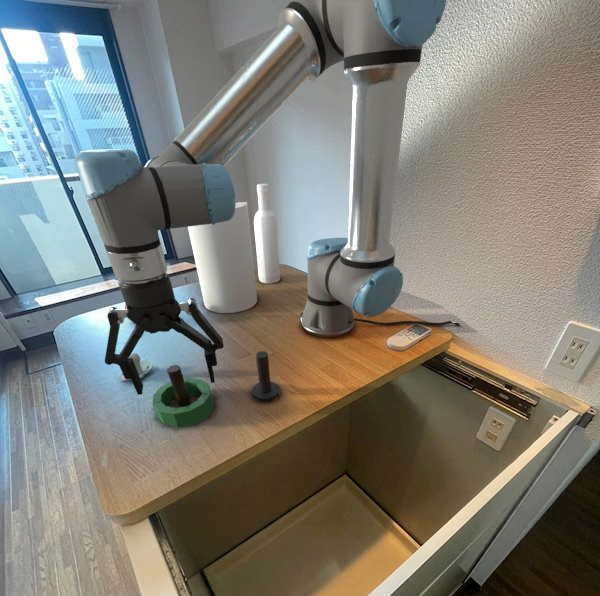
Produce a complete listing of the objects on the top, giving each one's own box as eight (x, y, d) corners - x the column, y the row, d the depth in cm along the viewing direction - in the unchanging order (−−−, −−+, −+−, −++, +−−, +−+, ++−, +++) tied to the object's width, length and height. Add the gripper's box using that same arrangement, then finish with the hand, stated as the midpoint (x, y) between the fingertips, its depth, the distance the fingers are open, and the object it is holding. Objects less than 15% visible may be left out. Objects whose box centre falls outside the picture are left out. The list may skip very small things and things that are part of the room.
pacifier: (116, 381, 76) (135, 387, 73) (104, 358, 72) (124, 364, 69) (140, 364, 81) (158, 369, 78) (130, 342, 77) (149, 347, 74)
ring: (211, 386, 73) (208, 373, 71) (215, 420, 65) (211, 406, 63) (159, 395, 71) (154, 382, 69) (156, 431, 63) (150, 418, 61)
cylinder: (262, 308, 103) (252, 207, 85) (206, 316, 99) (184, 212, 81) (252, 288, 116) (242, 196, 97) (202, 294, 112) (182, 200, 94)
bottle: (281, 276, 124) (277, 182, 105) (278, 284, 118) (273, 186, 99) (261, 275, 125) (252, 182, 105) (257, 283, 119) (247, 186, 99)
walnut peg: (200, 396, 71) (189, 357, 64) (201, 414, 67) (189, 374, 60) (171, 401, 70) (157, 362, 63) (170, 419, 65) (155, 380, 59)
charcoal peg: (276, 382, 74) (273, 344, 68) (282, 399, 70) (279, 360, 63) (250, 387, 73) (244, 349, 67) (254, 404, 69) (249, 365, 62)
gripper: (45, 294, 45) (105, 408, 59) (227, 276, 50) (243, 385, 64) (59, 275, 50) (111, 383, 64) (222, 260, 55) (238, 364, 69)
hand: (177, 384), depth 64 cm, fingers open, 13 cm apart
